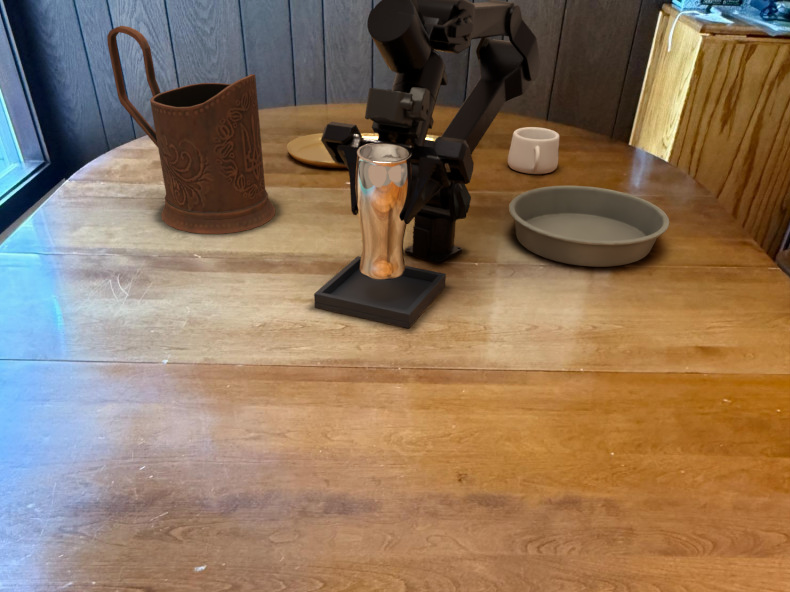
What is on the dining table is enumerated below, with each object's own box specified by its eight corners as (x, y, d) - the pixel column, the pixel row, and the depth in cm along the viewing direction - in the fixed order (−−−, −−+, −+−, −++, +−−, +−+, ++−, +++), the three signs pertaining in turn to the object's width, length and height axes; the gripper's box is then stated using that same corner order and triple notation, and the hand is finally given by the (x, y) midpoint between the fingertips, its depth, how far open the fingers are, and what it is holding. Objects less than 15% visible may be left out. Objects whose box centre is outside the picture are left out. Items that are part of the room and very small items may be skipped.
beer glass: (387, 288, 100) (390, 167, 89) (345, 272, 102) (343, 153, 92) (418, 268, 104) (424, 151, 93) (377, 253, 106) (378, 137, 96)
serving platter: (471, 172, 146) (472, 163, 145) (284, 170, 144) (284, 161, 143) (460, 142, 160) (460, 134, 159) (289, 140, 158) (289, 132, 157)
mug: (505, 158, 153) (509, 125, 149) (554, 160, 153) (559, 127, 149) (508, 178, 144) (512, 143, 140) (560, 180, 144) (566, 146, 140)
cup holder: (243, 241, 119) (222, 52, 102) (108, 218, 124) (67, 36, 108) (293, 201, 132) (282, 29, 115) (169, 182, 137) (141, 15, 121)
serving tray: (357, 269, 113) (357, 255, 111) (445, 287, 109) (446, 273, 108) (314, 307, 103) (313, 293, 102) (409, 328, 99) (409, 314, 98)
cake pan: (689, 268, 116) (697, 238, 113) (531, 276, 112) (535, 245, 109) (627, 209, 134) (633, 182, 131) (489, 214, 130) (492, 186, 127)
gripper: (323, 46, 91) (287, 174, 91) (474, 63, 87) (436, 198, 87) (352, 103, 102) (320, 217, 102) (488, 121, 97) (454, 241, 97)
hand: (379, 218), depth 97 cm, fingers closed on beer glass, 7 cm apart
